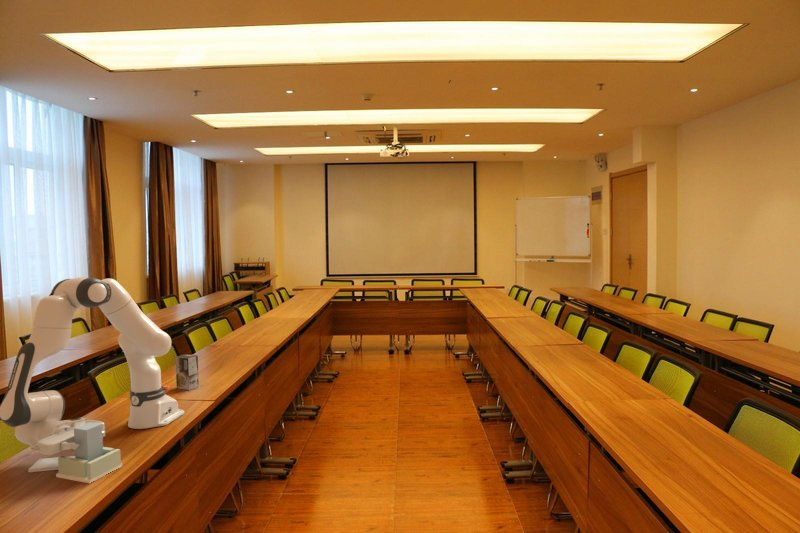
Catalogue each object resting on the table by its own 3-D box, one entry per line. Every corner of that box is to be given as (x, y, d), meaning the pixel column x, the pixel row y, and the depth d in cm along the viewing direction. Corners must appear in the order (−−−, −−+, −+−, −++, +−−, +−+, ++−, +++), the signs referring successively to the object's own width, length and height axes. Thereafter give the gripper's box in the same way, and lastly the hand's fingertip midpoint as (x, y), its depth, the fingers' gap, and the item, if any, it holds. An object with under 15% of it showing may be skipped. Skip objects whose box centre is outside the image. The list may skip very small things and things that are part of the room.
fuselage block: (90, 463, 167) (89, 422, 166) (103, 466, 165) (102, 424, 164) (75, 471, 162) (73, 428, 161) (88, 473, 160) (86, 430, 159)
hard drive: (81, 454, 174) (40, 458, 171) (70, 465, 166) (27, 468, 163) (81, 459, 174) (40, 462, 171) (70, 470, 166) (28, 473, 163)
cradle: (89, 460, 171) (89, 443, 171) (122, 466, 167) (121, 448, 166) (56, 477, 160) (55, 458, 159) (89, 483, 155) (88, 464, 155)
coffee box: (199, 386, 256) (198, 355, 255) (189, 390, 250) (188, 358, 249) (186, 384, 260) (185, 353, 259) (175, 388, 254) (174, 356, 253)
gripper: (26, 437, 157) (59, 443, 152) (85, 415, 176) (116, 419, 172) (27, 457, 157) (60, 463, 153) (86, 433, 176) (117, 437, 172)
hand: (90, 440), depth 162 cm, fingers open, 8 cm apart
